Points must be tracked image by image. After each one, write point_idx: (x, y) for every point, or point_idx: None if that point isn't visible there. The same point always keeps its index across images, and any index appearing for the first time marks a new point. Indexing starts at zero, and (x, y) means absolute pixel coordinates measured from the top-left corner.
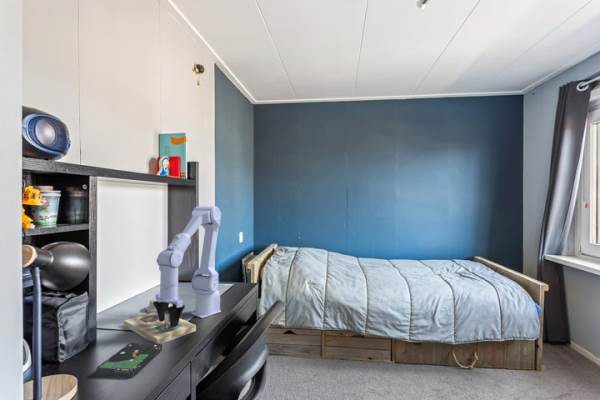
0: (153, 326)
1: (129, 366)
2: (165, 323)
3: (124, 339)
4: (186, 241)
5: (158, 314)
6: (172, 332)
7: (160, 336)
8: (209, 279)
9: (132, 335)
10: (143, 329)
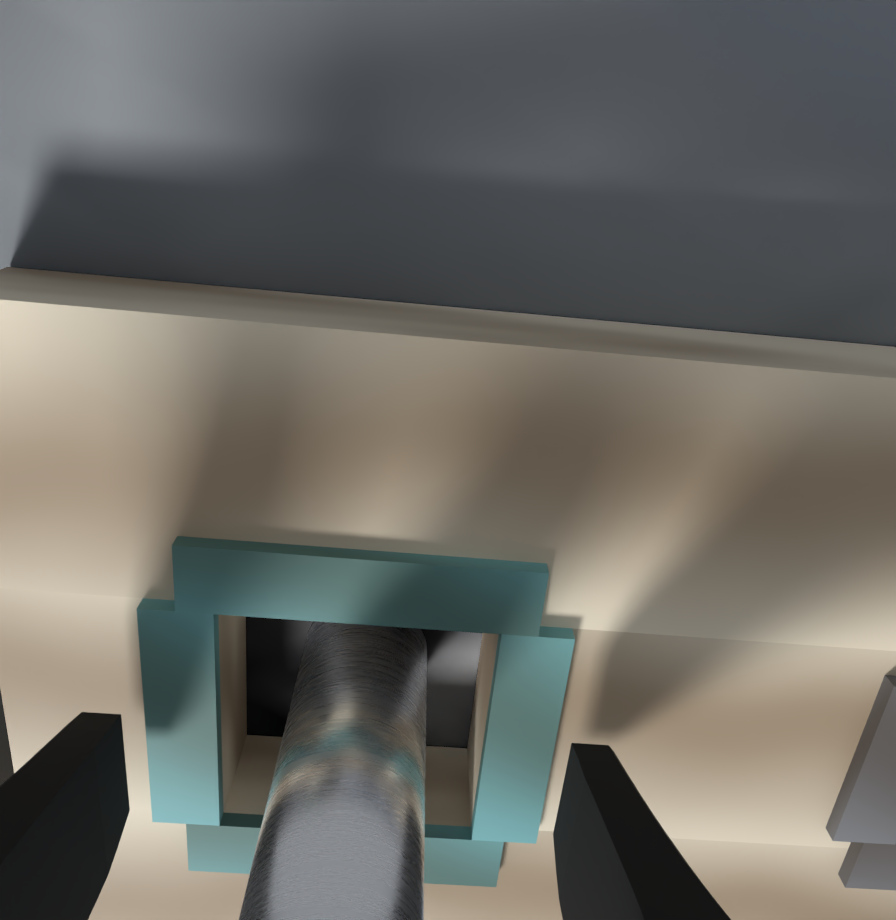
0: (632, 595)
1: None
2: (333, 737)
3: (841, 12)
4: None
5: (648, 865)
6: (38, 632)
7: (11, 398)
8: None
9: (854, 235)
10: (685, 399)
